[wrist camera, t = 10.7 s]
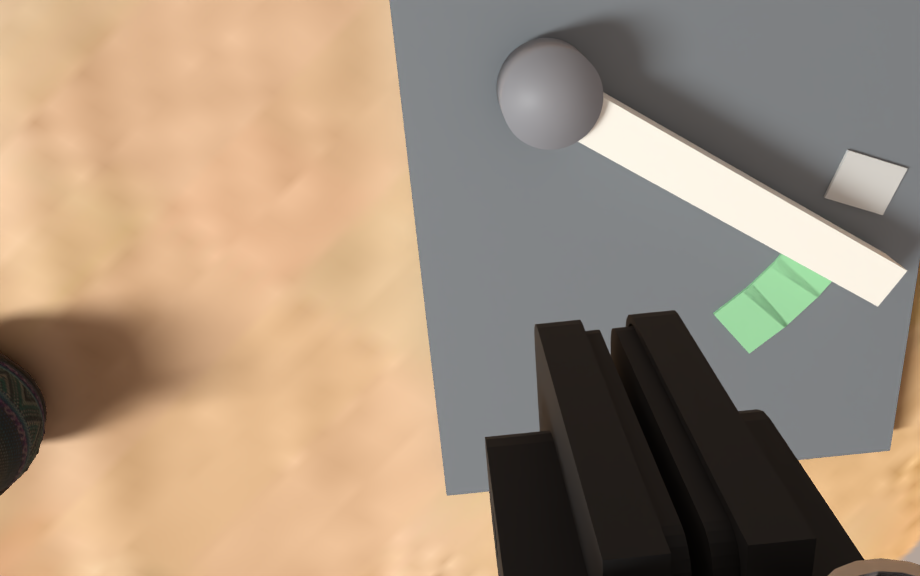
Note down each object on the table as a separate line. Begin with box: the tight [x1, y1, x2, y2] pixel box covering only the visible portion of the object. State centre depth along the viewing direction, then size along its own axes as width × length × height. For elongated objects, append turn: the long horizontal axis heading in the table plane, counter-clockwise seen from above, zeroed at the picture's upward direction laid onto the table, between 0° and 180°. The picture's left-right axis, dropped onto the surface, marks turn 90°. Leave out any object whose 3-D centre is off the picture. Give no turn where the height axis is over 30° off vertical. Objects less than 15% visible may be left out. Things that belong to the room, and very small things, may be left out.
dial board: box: [390, 0, 920, 495], centre depth 40 cm, size 26×24×2 cm
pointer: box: [496, 38, 907, 306], centre depth 37 cm, size 20×4×2 cm, turn 61°
